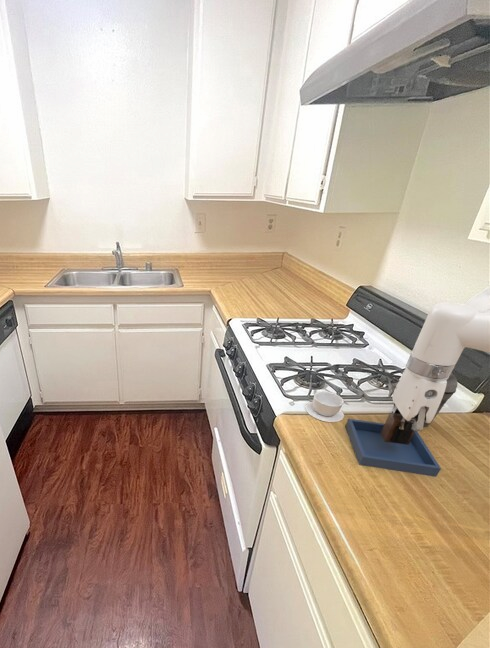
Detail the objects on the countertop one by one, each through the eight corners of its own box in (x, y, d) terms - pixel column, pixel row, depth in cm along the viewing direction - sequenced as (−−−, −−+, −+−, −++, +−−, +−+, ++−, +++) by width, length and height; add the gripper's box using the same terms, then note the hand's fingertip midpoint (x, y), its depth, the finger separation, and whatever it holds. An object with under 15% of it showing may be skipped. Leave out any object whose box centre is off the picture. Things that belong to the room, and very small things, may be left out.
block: (403, 436, 81) (413, 415, 78) (408, 444, 78) (419, 423, 75) (380, 433, 82) (389, 412, 79) (384, 441, 79) (394, 420, 76)
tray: (410, 436, 87) (415, 427, 85) (435, 477, 75) (441, 468, 73) (344, 427, 89) (348, 418, 88) (358, 466, 77) (363, 456, 76)
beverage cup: (438, 434, 88) (479, 364, 77) (405, 428, 90) (441, 358, 79) (429, 418, 94) (467, 351, 83) (399, 412, 96) (432, 346, 84)
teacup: (335, 428, 89) (341, 413, 86) (298, 412, 94) (303, 398, 92) (348, 412, 95) (354, 398, 92) (313, 398, 101) (317, 384, 98)
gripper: (471, 388, 62) (428, 463, 72) (432, 350, 76) (400, 418, 86) (425, 383, 64) (389, 458, 74) (395, 347, 77) (368, 414, 87)
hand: (395, 436), depth 80 cm, fingers closed on block, 3 cm apart
